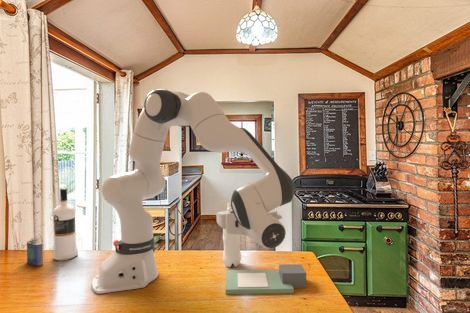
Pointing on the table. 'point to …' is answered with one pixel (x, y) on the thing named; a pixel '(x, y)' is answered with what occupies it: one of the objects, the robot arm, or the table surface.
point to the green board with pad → (266, 280)
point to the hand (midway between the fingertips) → (240, 211)
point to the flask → (34, 253)
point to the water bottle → (231, 246)
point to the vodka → (64, 229)
